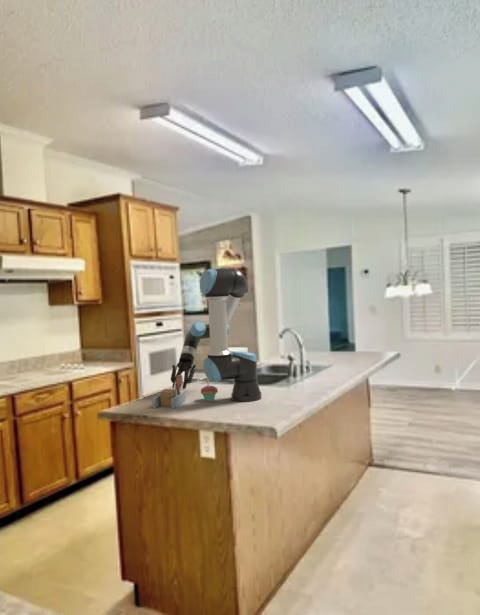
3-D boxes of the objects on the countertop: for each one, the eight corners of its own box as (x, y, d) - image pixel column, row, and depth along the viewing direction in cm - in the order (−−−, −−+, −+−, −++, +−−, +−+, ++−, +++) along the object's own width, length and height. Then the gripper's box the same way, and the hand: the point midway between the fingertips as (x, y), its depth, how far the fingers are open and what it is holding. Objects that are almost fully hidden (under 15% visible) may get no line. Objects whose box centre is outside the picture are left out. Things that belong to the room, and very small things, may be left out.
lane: (164, 401, 245) (164, 392, 245) (184, 401, 242) (184, 392, 242) (152, 408, 232) (152, 398, 232) (173, 408, 229) (173, 399, 229)
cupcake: (198, 399, 246) (197, 375, 246) (214, 397, 250) (213, 373, 249) (204, 402, 238) (203, 378, 238) (220, 400, 242) (219, 376, 241)
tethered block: (176, 396, 254) (175, 374, 254) (187, 397, 253) (186, 374, 252) (160, 406, 235) (159, 382, 235) (172, 406, 233) (171, 382, 233)
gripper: (203, 360, 263) (194, 397, 248) (175, 360, 267) (164, 397, 252) (199, 351, 258) (190, 389, 243) (171, 352, 262) (159, 389, 247)
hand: (177, 393), depth 247 cm, fingers closed on tethered block, 3 cm apart
